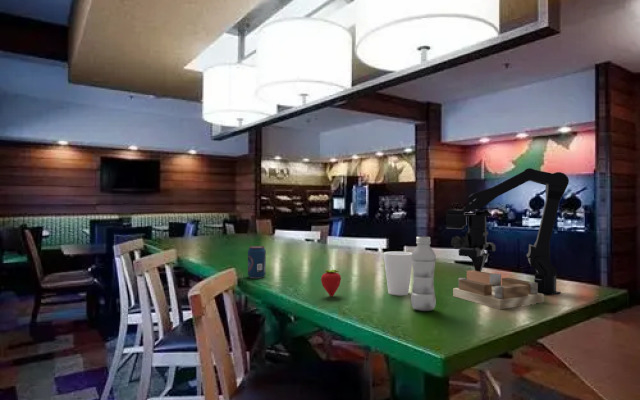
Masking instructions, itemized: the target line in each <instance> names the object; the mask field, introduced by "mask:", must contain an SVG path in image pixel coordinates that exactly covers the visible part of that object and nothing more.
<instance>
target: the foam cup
mask: <svg viewBox="0 0 640 400" xmlns="http://www.w3.org/2000/svg"><path fill="white" fill-rule="evenodd" d="M412 253H413V252H410V251H385V252H383V262H384V269H385V276H386V284H387V292H388V294H389V295H393V296H407V295H408V294H409V292H410V284H411V277H412V271H413V266H412V257H411V256H412Z"/></svg>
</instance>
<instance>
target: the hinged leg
mask: <svg viewBox="0 0 640 400" xmlns="http://www.w3.org/2000/svg"><path fill="white" fill-rule="evenodd" d="M466 279H469V280H474V281H478V282H483V283H487V284H492V285H502V274H499V273H491V272H485V271H481V272H480V271H475V269H474V270H473V269H472V270H466Z"/></svg>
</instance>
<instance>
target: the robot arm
mask: <svg viewBox="0 0 640 400" xmlns="http://www.w3.org/2000/svg"><path fill="white" fill-rule="evenodd" d="M569 180H570V179H569V177H568V176H567V174H565V173H564V172H560V171H559V172H558V171H557V172H556V171H555V172H553V173H552V172H548V171H543V170H537V169H534V168H526V169H524V170H523V171H521V172H520V173H517V174H516V175H513V176H512V177H510V178H508V179H506V180H504V181H502V182H500V183H498V184H496V185H495V186H492V187H490V188H486V189H483V190H479V191H477V192H474V193H471V194H470V195H469V196H468V197H467V198H468V199H467V204H466V206H465V207H463V209H447V210H446V218H445V227H446V229H450V230H452V229H454V230H463V229H464V227H466V226H467V221H468V231H466V233H465V236H463V237H459V236H458V235H456V236H453V237H451V242H450V245H451V246H453V248H454V249H455V250H457V249H458V257H468V258H469V259H471V261H472V265H473V268H474V271H480V272H482V269H483V268H484V265H485V263H486V262H487V259H488V257H489V255H490V253H487V252H486V251H490V252H495V251H496V244H495V243H494V242H487V236H488V235H489V231H487V217H492V215H493V214H492V213H491V212H490V211H489V210H488V209H487V208H486V209H485V210H482V208H484V207H486V206H487V205H488V204H489V203H491V202H492V201H493V200H495V199H497V198H498V197H499V196H502V195H504V194H505V193H507V192H509V191H512V190H513V189H515V188H517V187H520V186H522V185H524V184H525V183H527V182H532V183H536V184H540V185H542V186H543V185H544V186H545V202H544V206H543V209H542V210H543V211H542V215H541V219H540V224H539V229H538V232H537V236H536V240H535V242H534V244H533V245H532V244H530V243H529V244H528V253H526V257H527V260H528V263H529V264H530V266H531V267H532V268H533V269H534V270H535V272H536V273H534V279H533V280H534V281H533V282H536V283H538V293H540V294H544V296H545V295H546V296H551V295H552V296H553V295H559V294H561V293H562V292H561V291H557V273H558V269H557V268H556V267H555V266H554V265H553V264H552V263H551V246H550V243H551V239H552V234H553V232H554V231H553V230H554V226H555V222H556V219H557V218H556V217H557V213H558V209H559V205H560V202H561V199H562V197H563V196H564V195H565V192H566V190H567V187H568V186H569V184H570V183H569V182H570V181H569ZM480 209H481V210H480ZM473 210H476V211H475V213H471V212H472V211H473ZM479 210H480V211H479ZM466 213H468V214H466ZM467 217H468V220H467Z"/></svg>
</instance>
